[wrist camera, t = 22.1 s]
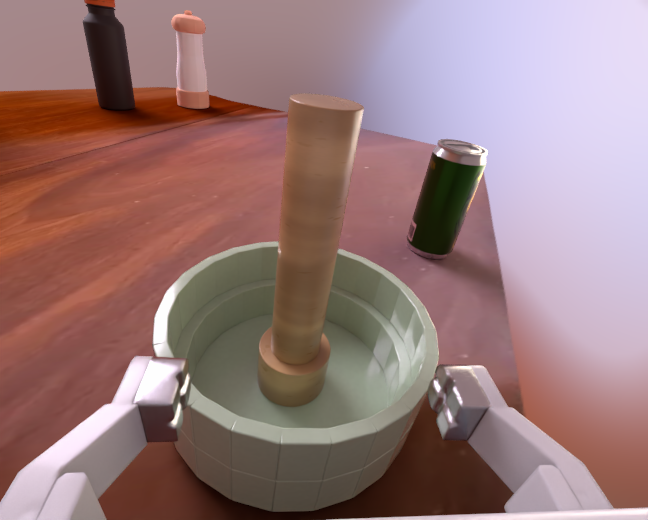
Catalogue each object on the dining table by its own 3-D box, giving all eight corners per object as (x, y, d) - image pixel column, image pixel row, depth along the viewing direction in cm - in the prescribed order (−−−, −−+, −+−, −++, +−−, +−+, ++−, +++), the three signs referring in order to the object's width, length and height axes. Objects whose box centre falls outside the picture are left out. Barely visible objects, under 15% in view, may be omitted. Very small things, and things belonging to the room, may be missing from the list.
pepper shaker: (182, 100, 89) (175, 8, 79) (212, 104, 90) (209, 13, 80) (173, 106, 83) (164, 6, 73) (205, 110, 84) (201, 12, 74)
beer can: (413, 259, 40) (448, 152, 33) (399, 235, 44) (428, 136, 37) (458, 261, 40) (500, 157, 34) (439, 237, 45) (474, 141, 38)
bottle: (142, 107, 78) (127, -5, 67) (119, 112, 73) (99, -9, 62) (115, 101, 79) (96, -10, 68) (91, 106, 74) (66, -15, 63)
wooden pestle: (304, 419, 21) (358, 121, 12) (243, 386, 22) (248, 94, 13) (334, 369, 25) (394, 107, 15) (280, 342, 26) (304, 87, 17)
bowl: (356, 591, 15) (392, 527, 12) (105, 421, 20) (77, 339, 16) (428, 357, 27) (457, 291, 24) (261, 285, 32) (264, 221, 29)
